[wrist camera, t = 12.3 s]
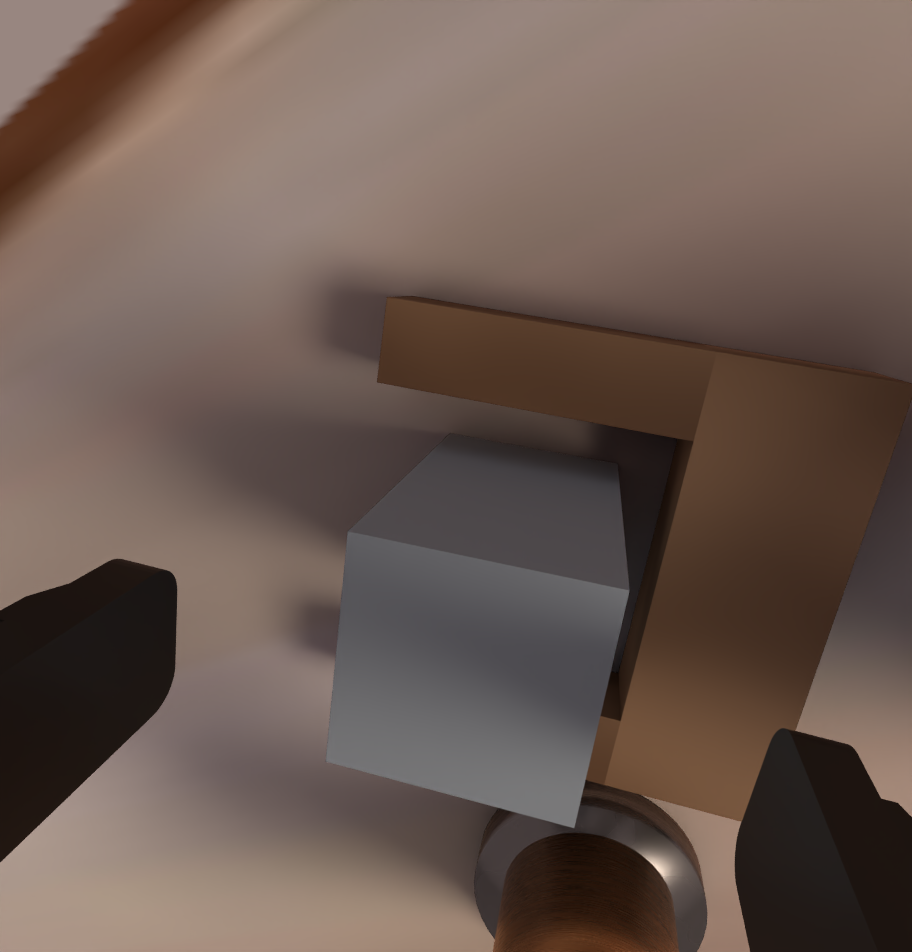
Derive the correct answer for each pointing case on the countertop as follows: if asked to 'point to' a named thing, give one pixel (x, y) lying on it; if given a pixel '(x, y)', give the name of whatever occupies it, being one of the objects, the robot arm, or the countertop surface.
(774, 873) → the robot arm
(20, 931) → the countertop surface
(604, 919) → the bobbin
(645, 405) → the u-shaped bracket
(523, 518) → the grey rectangular block
